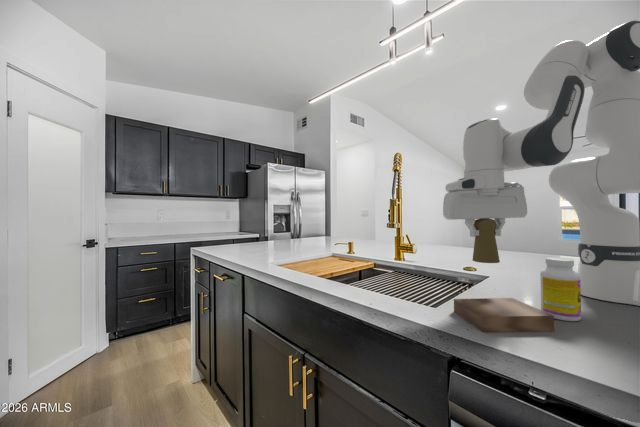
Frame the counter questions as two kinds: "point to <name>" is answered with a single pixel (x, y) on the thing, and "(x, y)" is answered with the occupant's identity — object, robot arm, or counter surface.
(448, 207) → the robot arm
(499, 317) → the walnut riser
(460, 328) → the counter surface
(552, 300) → the supplement bottle
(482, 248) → the cork
